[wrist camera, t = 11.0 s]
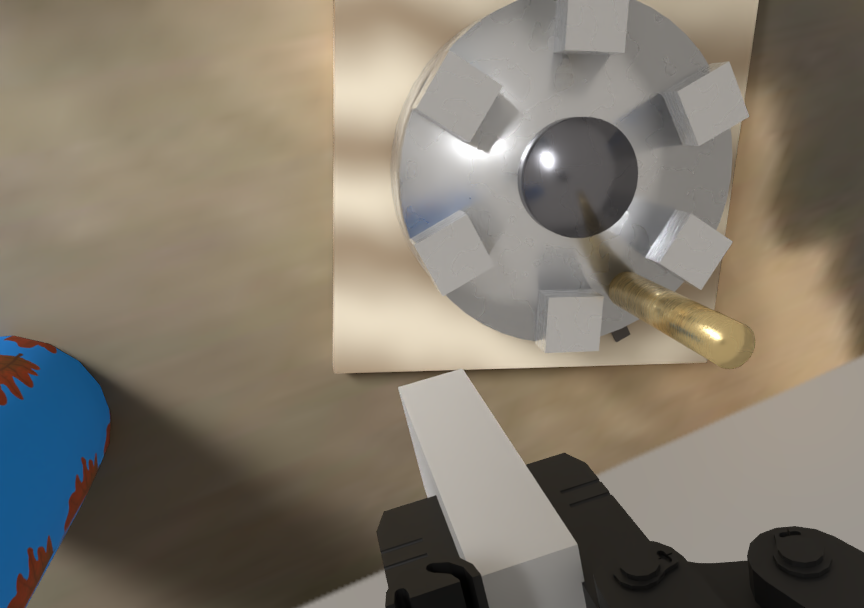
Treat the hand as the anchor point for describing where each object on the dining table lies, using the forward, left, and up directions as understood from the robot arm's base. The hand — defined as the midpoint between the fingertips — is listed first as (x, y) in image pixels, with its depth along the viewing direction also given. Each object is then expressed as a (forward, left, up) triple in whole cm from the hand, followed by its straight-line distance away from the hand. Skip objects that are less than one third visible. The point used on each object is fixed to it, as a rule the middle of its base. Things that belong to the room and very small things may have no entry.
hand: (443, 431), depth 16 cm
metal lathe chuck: (-4, +11, -25) cm, 27 cm away
